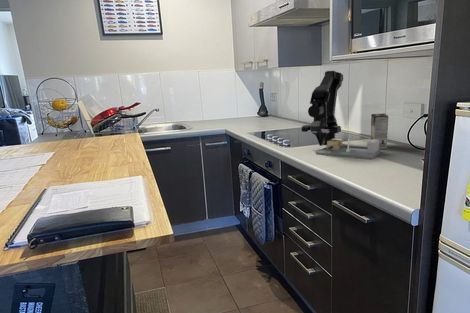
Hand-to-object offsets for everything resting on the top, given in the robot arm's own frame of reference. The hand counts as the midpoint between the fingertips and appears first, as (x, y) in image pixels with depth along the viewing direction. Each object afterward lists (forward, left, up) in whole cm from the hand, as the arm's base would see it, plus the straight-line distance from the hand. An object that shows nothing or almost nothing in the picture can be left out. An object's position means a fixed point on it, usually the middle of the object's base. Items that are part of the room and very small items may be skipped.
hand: (320, 145), depth 167 cm
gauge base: (+2, +15, -2) cm, 15 cm away
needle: (+8, +16, 0) cm, 18 cm away
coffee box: (-16, +24, -2) cm, 28 cm away
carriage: (+2, +7, -1) cm, 8 cm away
